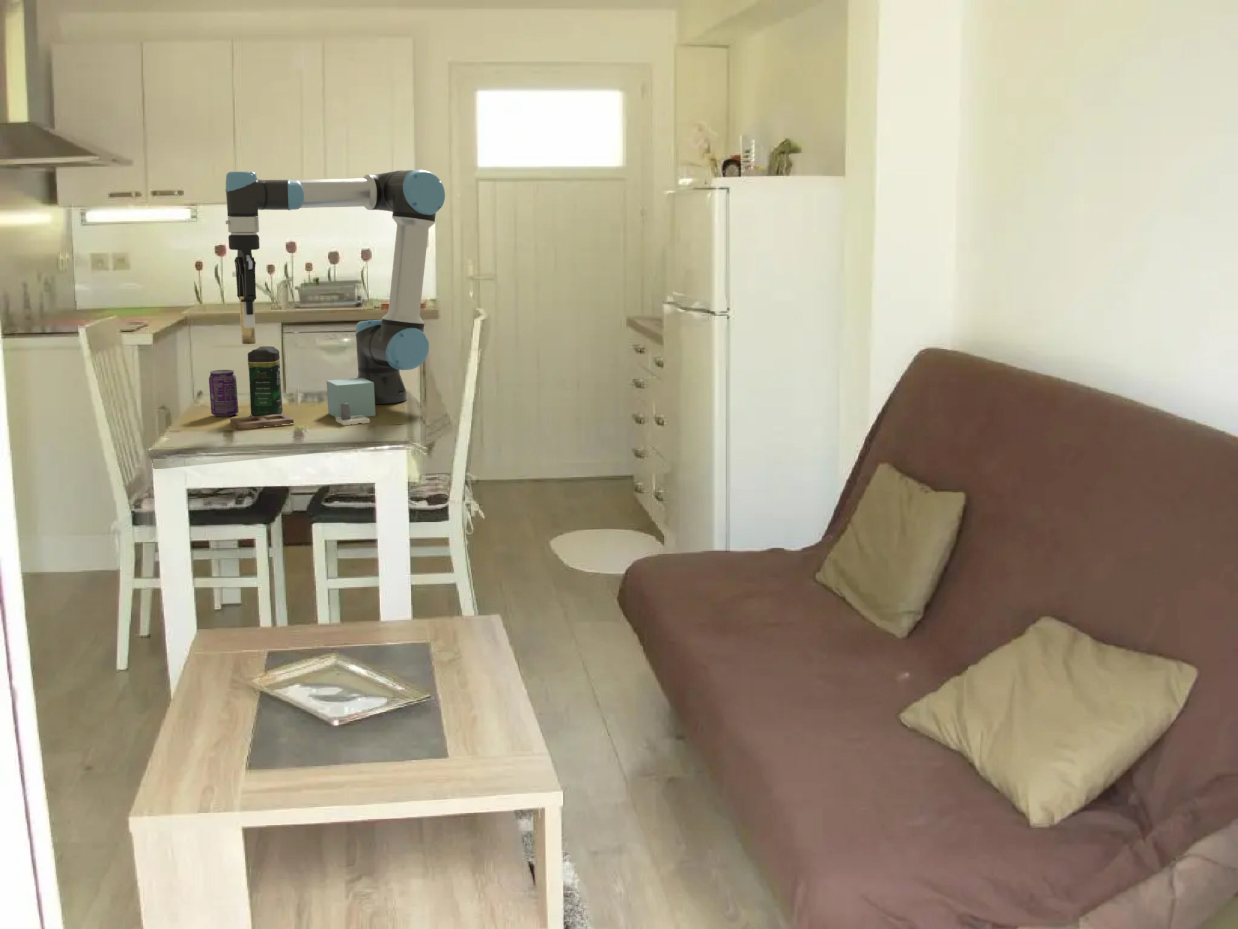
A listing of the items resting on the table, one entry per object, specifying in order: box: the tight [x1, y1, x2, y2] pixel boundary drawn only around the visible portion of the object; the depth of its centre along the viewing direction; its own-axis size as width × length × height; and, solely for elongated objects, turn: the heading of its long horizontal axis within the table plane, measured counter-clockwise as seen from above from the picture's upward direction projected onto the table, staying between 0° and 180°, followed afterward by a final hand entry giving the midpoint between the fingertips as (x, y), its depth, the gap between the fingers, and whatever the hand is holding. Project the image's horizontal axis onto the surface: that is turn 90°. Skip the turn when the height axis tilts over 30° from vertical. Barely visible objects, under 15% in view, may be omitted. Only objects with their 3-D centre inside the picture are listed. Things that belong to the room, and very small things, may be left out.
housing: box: [326, 377, 376, 418], centre depth 369 cm, size 10×10×9 cm
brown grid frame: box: [229, 413, 295, 430], centre depth 357 cm, size 14×10×1 cm
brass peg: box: [239, 296, 257, 345], centre depth 352 cm, size 3×3×12 cm
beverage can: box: [208, 369, 239, 418], centre depth 370 cm, size 7×7×12 cm
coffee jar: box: [247, 345, 284, 417], centre depth 369 cm, size 10×8×19 cm
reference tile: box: [335, 403, 371, 426], centre depth 359 cm, size 7×7×5 cm
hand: (248, 326), depth 352 cm, fingers closed on brass peg, 3 cm apart
